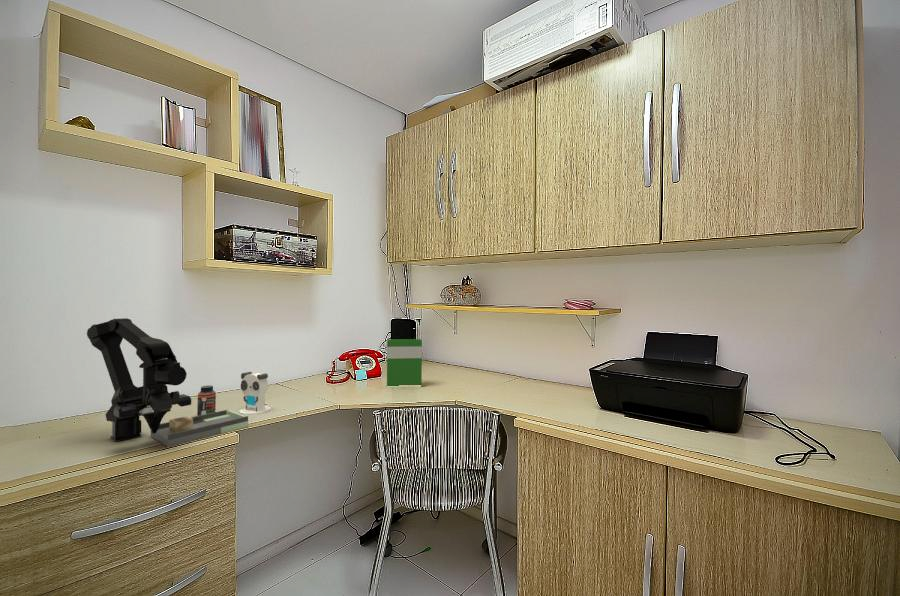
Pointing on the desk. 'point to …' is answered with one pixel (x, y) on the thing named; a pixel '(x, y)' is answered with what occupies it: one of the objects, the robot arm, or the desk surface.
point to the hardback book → (404, 362)
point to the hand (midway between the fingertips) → (154, 433)
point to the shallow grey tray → (202, 427)
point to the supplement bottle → (206, 400)
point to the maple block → (180, 424)
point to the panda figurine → (254, 392)
